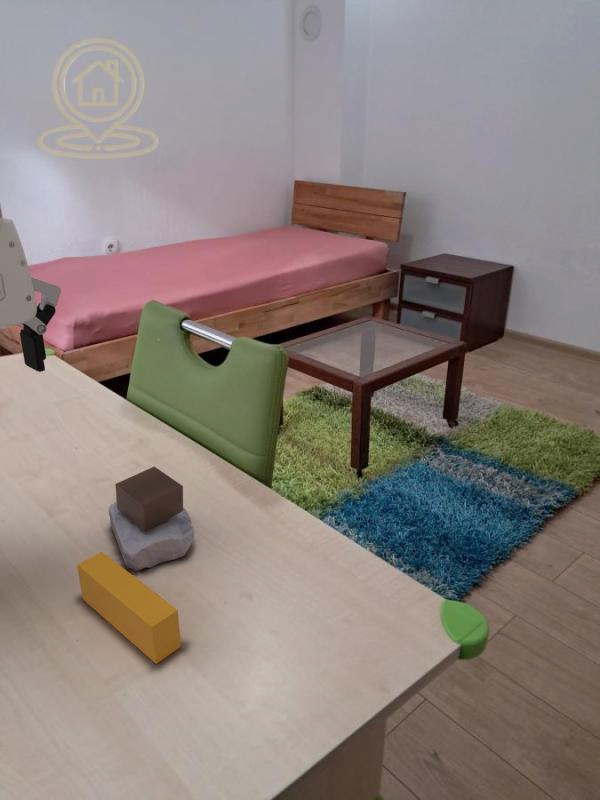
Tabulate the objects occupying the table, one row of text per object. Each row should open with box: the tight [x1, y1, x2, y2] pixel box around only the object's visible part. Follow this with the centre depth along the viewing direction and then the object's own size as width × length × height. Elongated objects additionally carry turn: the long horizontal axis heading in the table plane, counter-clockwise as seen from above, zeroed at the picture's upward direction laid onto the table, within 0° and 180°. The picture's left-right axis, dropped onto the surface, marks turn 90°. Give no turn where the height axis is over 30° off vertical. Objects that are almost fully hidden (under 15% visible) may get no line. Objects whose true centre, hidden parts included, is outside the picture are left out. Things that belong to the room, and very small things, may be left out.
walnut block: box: [114, 466, 184, 531], centre depth 81 cm, size 6×6×4 cm
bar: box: [76, 551, 182, 665], centre depth 69 cm, size 3×14×5 cm, turn 48°
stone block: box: [108, 500, 195, 572], centre depth 83 cm, size 12×5×10 cm
